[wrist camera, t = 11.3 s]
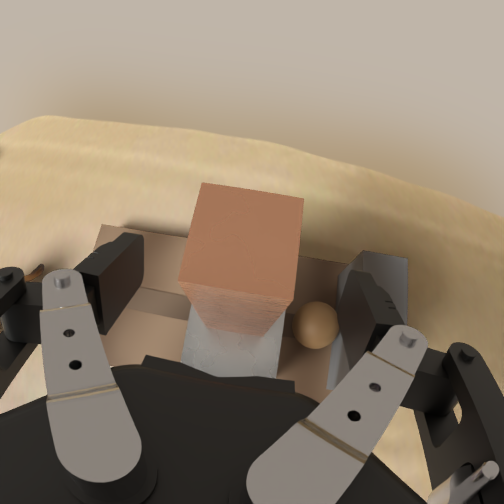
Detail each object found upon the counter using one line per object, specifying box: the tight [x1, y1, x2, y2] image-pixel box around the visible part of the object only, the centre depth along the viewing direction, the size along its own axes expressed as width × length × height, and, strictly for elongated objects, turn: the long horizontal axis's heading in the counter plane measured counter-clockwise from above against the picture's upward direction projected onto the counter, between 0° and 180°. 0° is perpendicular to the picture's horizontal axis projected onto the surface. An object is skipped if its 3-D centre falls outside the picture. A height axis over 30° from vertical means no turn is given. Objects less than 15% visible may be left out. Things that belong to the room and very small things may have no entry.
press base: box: [93, 224, 408, 403], centre depth 20 cm, size 22×10×7 cm, turn 81°
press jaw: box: [178, 183, 304, 379], centre depth 15 cm, size 5×8×13 cm, turn 171°
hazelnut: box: [292, 302, 339, 349], centre depth 20 cm, size 3×3×3 cm
